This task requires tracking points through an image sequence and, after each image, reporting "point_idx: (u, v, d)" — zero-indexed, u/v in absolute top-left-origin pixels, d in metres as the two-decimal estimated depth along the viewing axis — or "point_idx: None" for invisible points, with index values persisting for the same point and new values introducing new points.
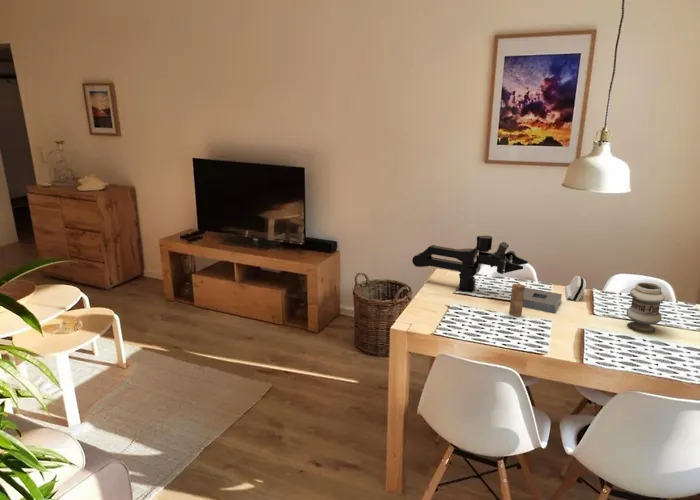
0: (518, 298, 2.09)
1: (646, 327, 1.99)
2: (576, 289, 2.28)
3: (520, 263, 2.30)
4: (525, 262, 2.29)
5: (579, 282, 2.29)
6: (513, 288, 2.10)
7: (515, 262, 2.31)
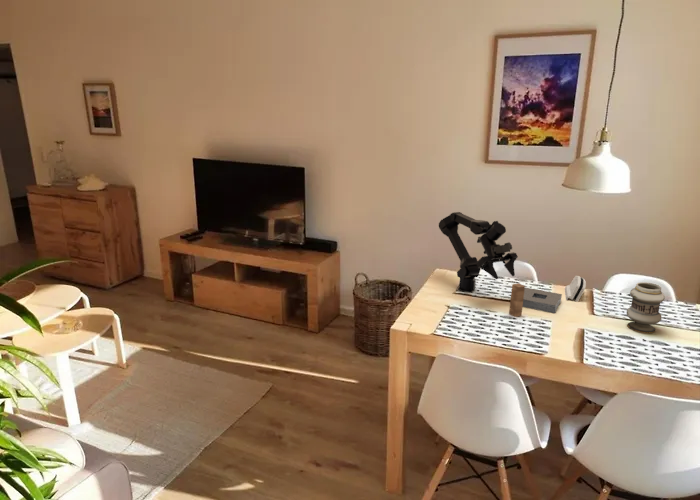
0: (518, 298, 2.09)
1: (646, 327, 1.99)
2: (576, 289, 2.28)
3: (509, 271, 2.20)
4: (512, 274, 2.19)
5: (579, 282, 2.29)
6: (513, 288, 2.10)
7: (507, 266, 2.21)
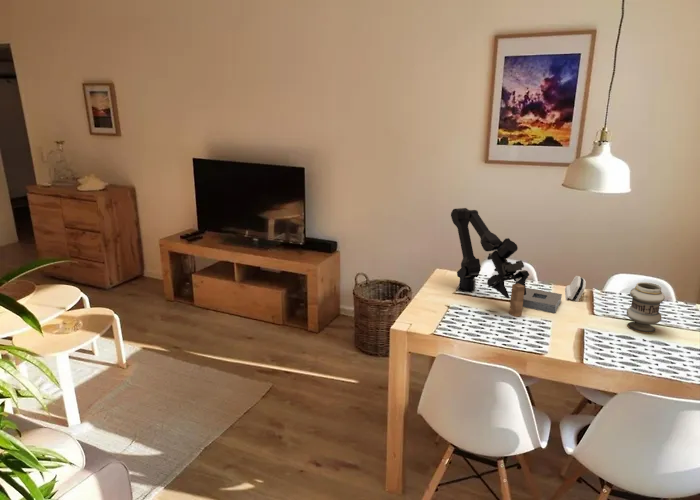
0: (518, 298, 2.09)
1: (646, 327, 1.99)
2: (576, 289, 2.28)
3: None
4: None
5: (579, 282, 2.29)
6: (513, 288, 2.10)
7: None
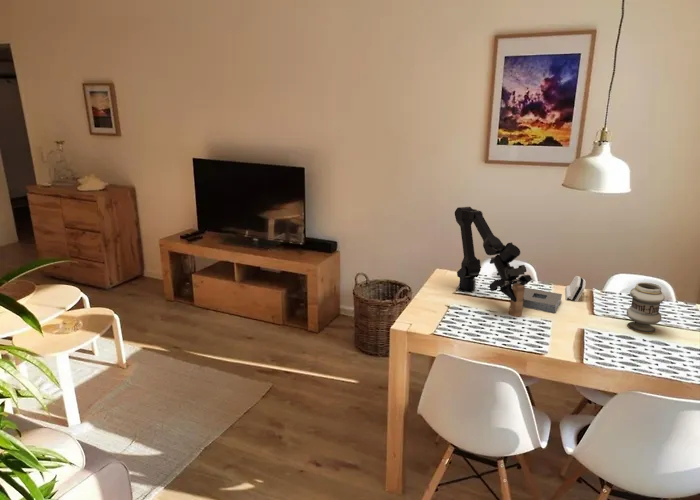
0: (518, 298, 2.09)
1: (646, 327, 1.99)
2: (575, 289, 2.28)
3: None
4: None
5: (578, 282, 2.29)
6: (513, 288, 2.10)
7: None
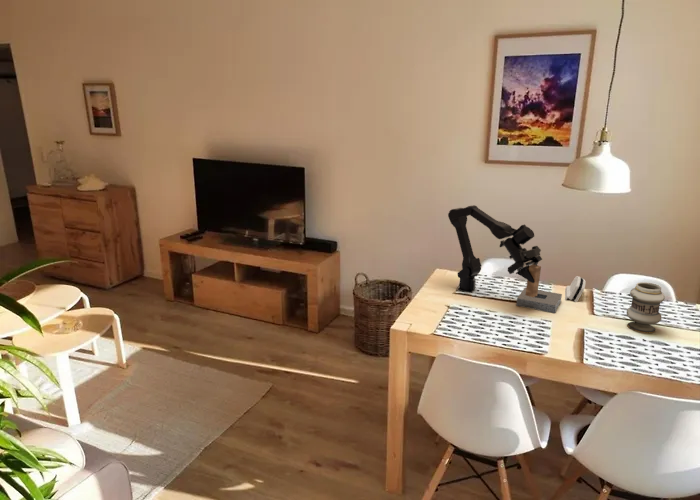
0: (536, 279, 2.12)
1: (646, 327, 1.99)
2: (575, 289, 2.28)
3: None
4: None
5: (578, 282, 2.29)
6: (530, 269, 2.12)
7: None
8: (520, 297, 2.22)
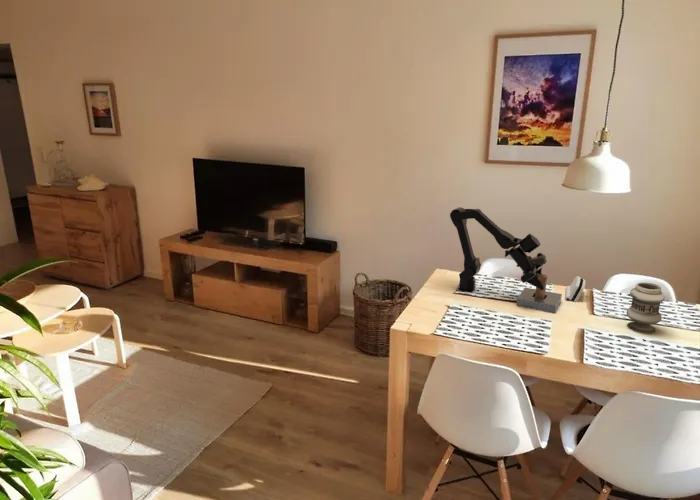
0: (544, 287, 2.22)
1: (646, 327, 1.99)
2: (574, 289, 2.27)
3: None
4: None
5: (578, 282, 2.29)
6: (539, 279, 2.21)
7: None
8: (520, 297, 2.22)
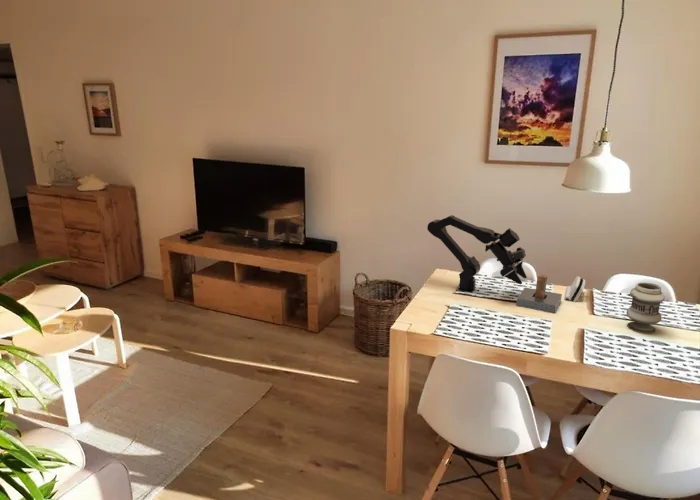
0: (544, 288, 2.21)
1: (646, 327, 1.99)
2: (574, 289, 2.27)
3: (519, 274, 2.31)
4: (524, 276, 2.30)
5: (578, 283, 2.28)
6: (539, 279, 2.21)
7: (516, 269, 2.32)
8: (520, 297, 2.22)
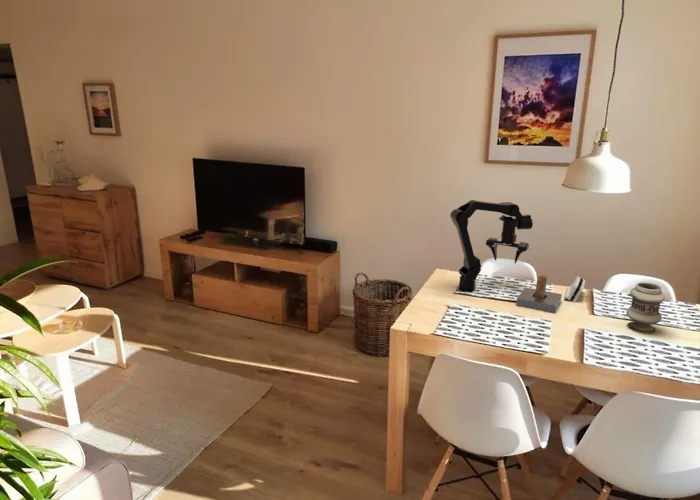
0: (544, 288, 2.21)
1: (646, 327, 1.99)
2: (573, 290, 2.27)
3: (495, 254, 2.41)
4: (496, 258, 2.43)
5: (577, 283, 2.28)
6: (539, 279, 2.21)
7: (495, 249, 2.41)
8: (520, 297, 2.22)
